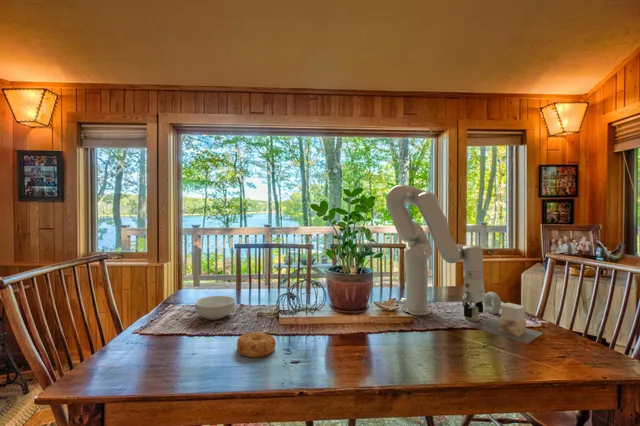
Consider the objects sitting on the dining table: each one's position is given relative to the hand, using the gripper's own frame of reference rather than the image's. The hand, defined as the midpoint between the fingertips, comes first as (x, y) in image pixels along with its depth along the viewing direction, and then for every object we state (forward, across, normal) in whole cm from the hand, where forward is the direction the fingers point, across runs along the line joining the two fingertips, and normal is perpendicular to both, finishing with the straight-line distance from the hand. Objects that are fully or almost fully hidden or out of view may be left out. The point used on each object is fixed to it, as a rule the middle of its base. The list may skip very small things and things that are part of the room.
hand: (473, 314), depth 137 cm
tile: (+3, 0, -13) cm, 14 cm away
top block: (-2, 0, -15) cm, 16 cm away
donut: (+3, +17, 0) cm, 17 cm away
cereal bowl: (0, -85, +72) cm, 111 cm away
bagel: (+2, -86, +32) cm, 92 cm away
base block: (+3, 0, -15) cm, 15 cm away
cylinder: (+3, 0, +1) cm, 3 cm away
